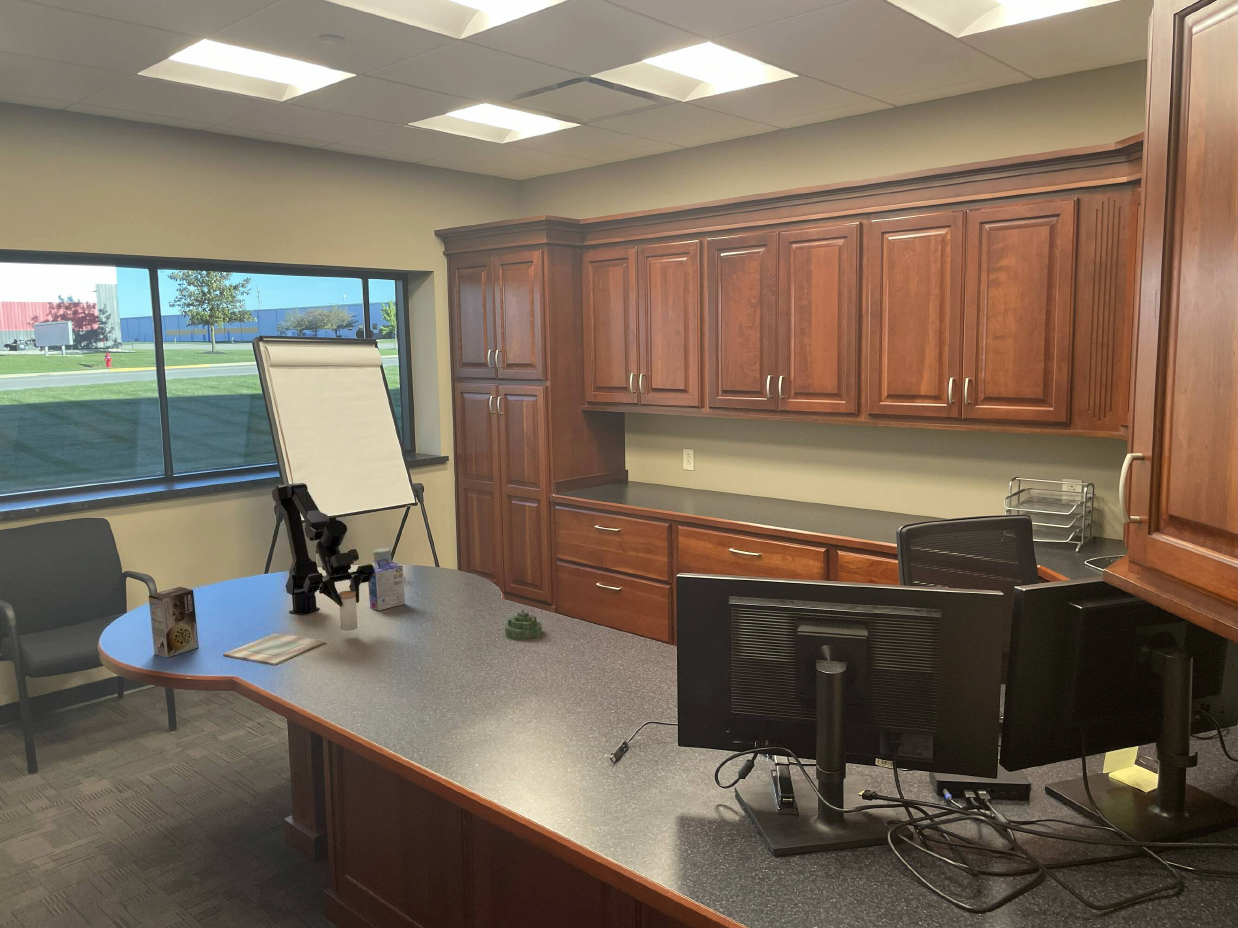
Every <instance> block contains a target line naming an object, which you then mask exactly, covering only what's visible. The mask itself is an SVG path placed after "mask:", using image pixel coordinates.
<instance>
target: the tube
mask: <svg viewBox="0 0 1238 928" xmlns="http://www.w3.org/2000/svg"><path fill="white" fill-rule="evenodd" d="M338 594H339V596H340V598H341V601H342V607H340V606H339V618H340V619H339V621H340V630H341V631H344V632H348V631H354V630H356V629H358V627H359V626H358V612H357V611H358V610H357V602H356V592H355V591H351V590H342V591H340V592H338Z"/></svg>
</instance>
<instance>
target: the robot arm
mask: <svg viewBox="0 0 1238 928" xmlns="http://www.w3.org/2000/svg"><path fill="white" fill-rule="evenodd" d="M308 490H309V489H308V484H307V483H305V482H304V483H303V482H298V483H289V484H280V485H275V488H274V489H273V490H272V491H271V495H272V500H273V501H274V503H275V507H276V509H277V510H279V512H280V513H281V514H282V515H283V519H284V522H285V523H284V524H285V528H286V533H287V539H288V544H289V550H290V555H291V559H292V562H291V565H290V568H289V570H288V573H289V576H288V579H287V581H286V584H285V591H286V594H289V595H290V596H291V599H292V600H291V601H292V609H290V610H289V612H288V613H289V614H295V615H303V616H306V615H308V614H311V613H313V612H317V611H319V610H320V609H321V608H320V607H319V606H317V597H316V593H317V591H318V593H319V594H323V595H324V596H326V597H327V598H328V599H330V600H331V601H333V602H334V603H335V604H336V605H338V606H339V608H340V607H342V601H341V598H340V596H339V592H338V590H337V587H336V583H339V582H343V581H344V582H345V581H349V583H350V584H349V586H348V588H349V591H355V592H356V604H359V603H360V586H361V584H365V583H368V582H369V581H370V580H371V578H372V576H373V574H374V572H375V569H374V566H373V565H372V564H371V563H365V564H361V565H357V568H356V570H355V571H350V570H351V569H352V564H354V563H355V562H357V561H358V560H359V559H360V555H359V552H358V550H357V549H356V548H352V549H349V550H348V551H347V552H342V551H341V549H340V546H341V545H342V544H343V541H344V539H345V536H346V535H347V532H348V526H347V525H346V524H345V523H344V522H343V521H342V520H339V519H337V518H336V517H337V516H334V517H333V516H332V517H330V516H329V515H328V514H326V513H324V512H322V511H320V508H319V507H318V506H317V504H316V502H315V500H314V499H313V497H312V496H311V493H310V492H309V491H308ZM302 518H303V520H304V522H305V525H304V527H303V520H302ZM305 536H306V537H305ZM306 538H307V539H308V540H309V541H311V542H314V541H315V542H316V541H317V543H316V545H315V554H316V555H317V554H318V557H319V559H320V561H321V564H322V566H321V569H322V571H324V572H325V574H326V575H323V574H324V573H322V572H320V571H319V569H318V564H317V562H316V561H315V560H312V559H311V558H310V556H309V551H308V546H307V541H306Z"/></svg>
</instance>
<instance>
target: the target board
mask: <svg viewBox="0 0 1238 928" xmlns="http://www.w3.org/2000/svg"><path fill="white" fill-rule="evenodd" d="M326 642H327V641H326V640H321V639H317V638H309V637H302V636H296V635H290V634H283V633H278V632H277V633H276V632H275V633H272V634H270V635H267V636H265V637H262V638H260V639H258V640H256V641H252V642H250V643H247V644H244V645H243V646H240V647H237V648H234V649H233V650H229V651H226V652H224V653H223V654H222V655H223V657H229V658H234V659H238V660H239V659H240V660H246V661H250V662H256V663H262V664H267V665H272V666H276V665H278V664H281V663H282V662H285V661H287V660H290V659H293V658H294V657H297V656H298V655H302V654H304V653H306V652H308V651H310V650H313V649H316V648H317V647H320V646H322V645H325V644H326Z"/></svg>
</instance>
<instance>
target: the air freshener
mask: <svg viewBox="0 0 1238 928" xmlns="http://www.w3.org/2000/svg"><path fill="white" fill-rule="evenodd" d="M372 555H373V556H372V557H373V562H372V563H370V564H372V565H373V566H374V568H377V567H379V566H378V563H377V560H381V559H386V558H387V559H388V562H389V564H398V563H397V562H396V561H394V560H392V549H390V548H388V547H385V548H384V547H382V548H376V549H374V550H373V553H372ZM385 563H387V562H386V561H382V562H380V564H385Z"/></svg>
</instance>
